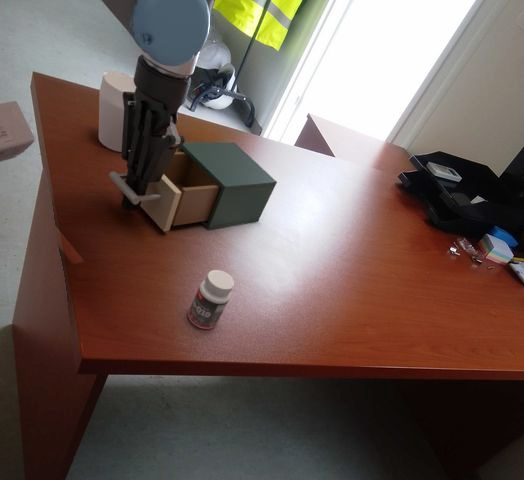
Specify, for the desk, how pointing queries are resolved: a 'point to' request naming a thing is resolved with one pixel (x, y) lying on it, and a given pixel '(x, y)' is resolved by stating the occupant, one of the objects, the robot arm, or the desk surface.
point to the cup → (113, 108)
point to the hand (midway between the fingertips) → (130, 207)
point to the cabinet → (232, 182)
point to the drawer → (176, 193)
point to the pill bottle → (211, 299)
